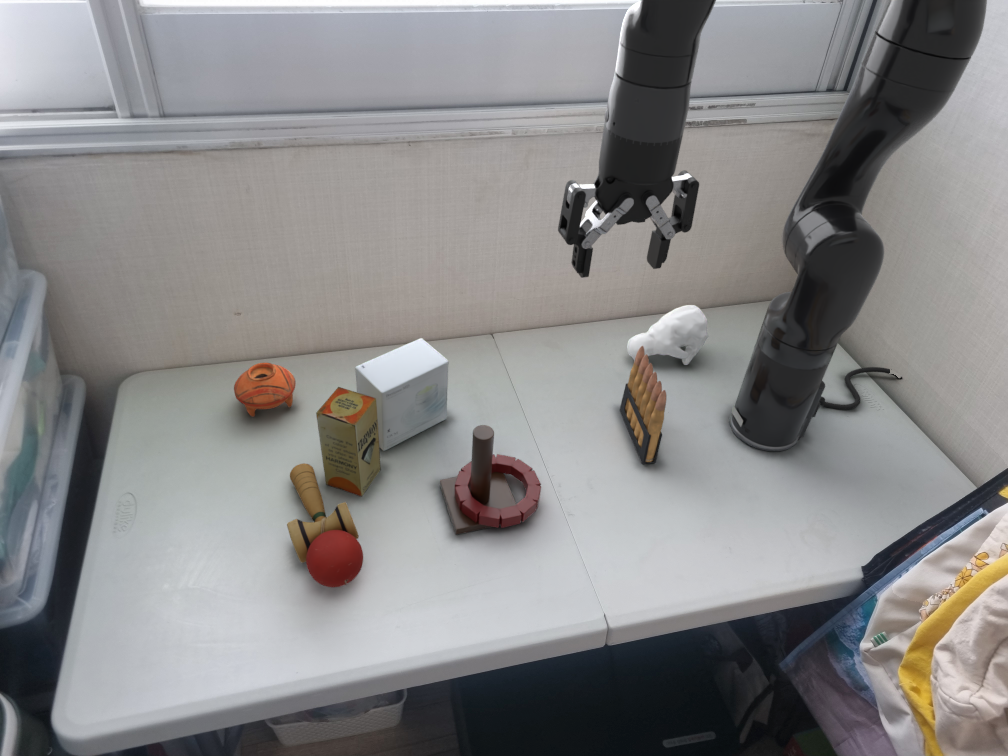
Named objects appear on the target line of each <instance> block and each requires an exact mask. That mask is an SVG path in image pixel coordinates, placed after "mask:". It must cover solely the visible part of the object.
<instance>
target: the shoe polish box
mask: <svg viewBox="0 0 1008 756" xmlns="http://www.w3.org/2000/svg"><path fill="white" fill-rule="evenodd" d="M316 411H317V412H315V414H316V423H317V429H318V438H319V444H320V445H319V446H320V451H321V458H322V466H323V473H324V481H325V485H326V486H329V487H332V488H335V489H338V490H340V491H344V492H346V493H349V494H353V495H356V496H358V497H360V498H361V497H363V496H364V494H365V493H366V492H367V490H368V488H370V485H371V484H372V483H373V481H374V480H375V479H376V478H377V476H378V474H379V473H380V471H381V468H382V466H381V452H380V447H379V434H378V419H377V404H376V398H374V397H370V396H367V395H364V394H360V393H357V391H354V390H350V389H347V388H344V387H341V386H338V387H337V388H336V389H335V390H334V391H333V393H332V394H331V395H330V396H329V397H328V398H327V399H326V400H325V402H324V403H323V404H322V405H321V406H320V407H319V409H318V410H316Z"/></svg>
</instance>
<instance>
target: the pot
mask: <svg viewBox="0 0 1008 756" xmlns="http://www.w3.org/2000/svg"><path fill="white" fill-rule="evenodd" d="M295 389H296V379H295V376H294V375H293V373H292V372H291V371H290V370H288V369H287V368H285V367H284V366H282V365H278V364H274V363H271V362H259V363H256V364H253V365H252V366H250V367H248V369H247V370H245V371H243V373H241V374H240V376H238V378H237V379H236V381H235V383H234V385H233V393H234V396H235V399H236V400H237V401H238V402H240V403H241V404H242V405H244V407H245V410H246V413H248V415H249V416H250V417H256V416H255V415H256V410H270V409H275V408H277V407H279V406H281V405H282V404H284V403H285V404H286V405H287V407H288V408H291V407H292V405H293V401H294V400H293V399H294V398H293V394H294V392H295Z"/></svg>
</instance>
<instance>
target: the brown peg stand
mask: <svg viewBox="0 0 1008 756" xmlns="http://www.w3.org/2000/svg"><path fill="white" fill-rule="evenodd" d="M471 439H472V444H471V460H470V462H471V484H470V488H469V490H470V492H471V495H472V497H473V498H474V499H476V500H477V501H478V502H480V503H481V504H482V505H484V506H488V507H493V508H498V509H501V508H506V507H510V506H515V505H516V504H517V502H516V499H515V497H514V495H513V493H512V490H511V487H510V485H509V483H508V481H507V478H506V475H505V474H504V473H499V472H493V473H491V472H492V458H493V454H494V445H495V444H494V442H495V430H494V428H493V427H491V426H489V425H487V424H480V425H476V426H475V427H474V428H473V430H472V438H471ZM456 479H457V476H453V477H448V478H442V479H439V487H440V491H441V493H442V497H443V499H444V502H445V505H446V508H447V511H448V516H449V518H450V521H451V524H452V527H453V529H454V533H455V535H456V536H458V535H462V534H467V533H471V532H476V531H480V530H485V529H490V528H492V527H491V526H486V525H481V524H479V521H478V522H477V523H476V522H474V521H473V520H472V519H470V518H469V517H468V516H466V515H465V514H464V513H462V510H460V509H459V506H458V503H457V501H456V498H455V482H456ZM499 527H501V526H500V525H499Z"/></svg>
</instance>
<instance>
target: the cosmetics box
mask: <svg viewBox="0 0 1008 756" xmlns="http://www.w3.org/2000/svg"><path fill="white" fill-rule="evenodd" d="M449 362H450V361H449V360H448V359H447V358H446V357H445V356H444V355H443V354H442V353H440V352H439V351H438V350H437V349H435V347H433V346H432V345H431V344H429V342H427V341H426V340H425V339H424V338H422V337H420V338H418V339H415V340H413V341H411V342H408V343H407V344H404V345H401V346H400V347H397V348H395V349H393V350H390V351H388V352H385V353H383V354H381V355H379V356H376V357H374V358H371V359H369V360H368V361H365V362H362V363H361V364H358V365H356V366H355V367H354V371H355V384H356V392H357V393H360V394H364V395H367V396H370V397H374V398H376V404H377V419H378V434H379V449H381V450H382V451H383V452H385V451H387V450H389V449H391V448H393V447H395V446H397V445H399V444H401V443H402V442H405V441H406V440H408V439H410V438H413V437H414V436H416V435H418V434H420V433H421V432H424V431H426V430H428V429H429V428H431V427H433V426H435V425H437V424H439V423H442V422H443V421H445V420H447V419H448V418H447V417H448V416H447V415H448V414H447V413H448V411H447V410H448V407H447V406H448V390H449V389H448V387H449V386H448V385H449V383H448V382H449Z"/></svg>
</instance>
